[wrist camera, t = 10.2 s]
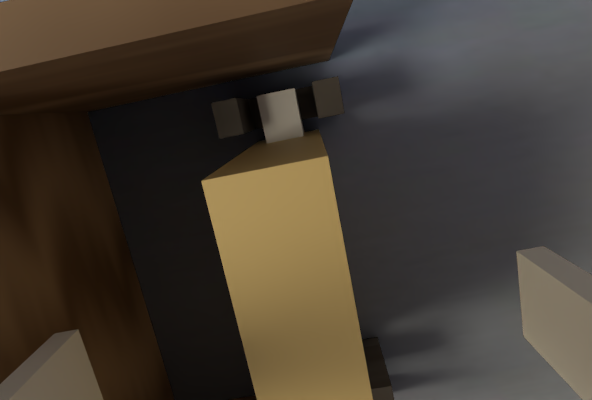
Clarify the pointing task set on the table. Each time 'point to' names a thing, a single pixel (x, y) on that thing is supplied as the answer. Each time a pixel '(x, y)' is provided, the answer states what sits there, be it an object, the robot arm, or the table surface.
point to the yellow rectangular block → (288, 262)
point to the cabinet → (89, 167)
